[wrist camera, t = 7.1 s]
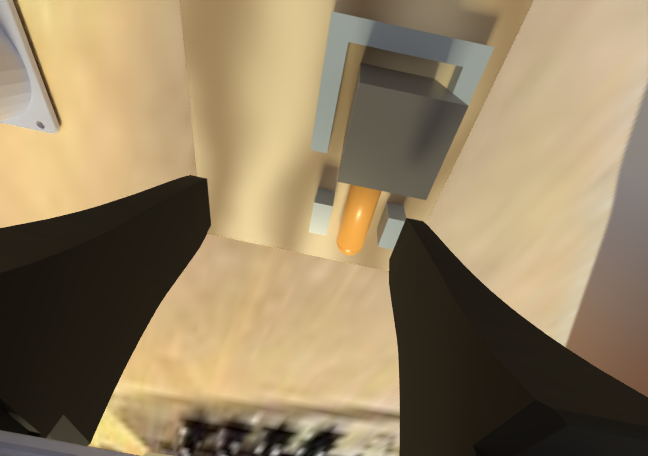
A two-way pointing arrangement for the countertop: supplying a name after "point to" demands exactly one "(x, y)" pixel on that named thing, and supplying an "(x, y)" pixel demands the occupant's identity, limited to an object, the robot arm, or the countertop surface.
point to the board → (309, 108)
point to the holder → (394, 39)
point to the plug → (392, 143)
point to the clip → (386, 228)
